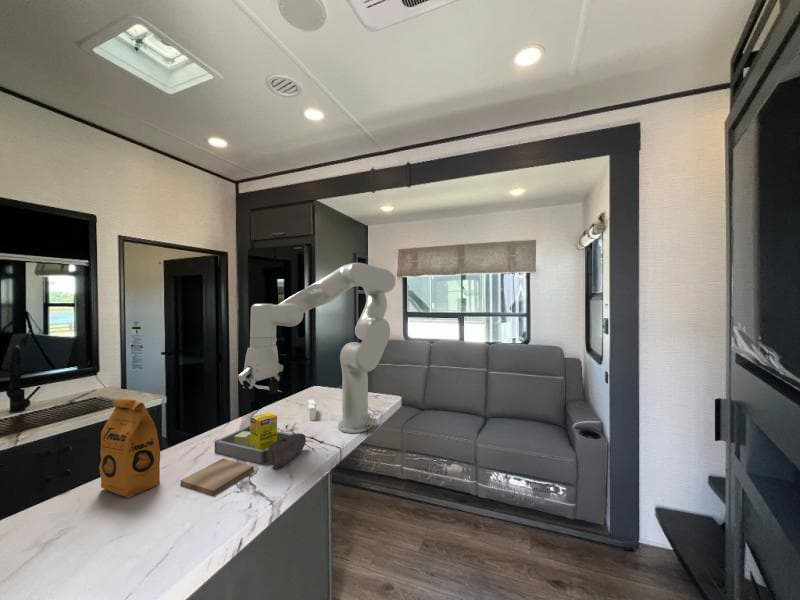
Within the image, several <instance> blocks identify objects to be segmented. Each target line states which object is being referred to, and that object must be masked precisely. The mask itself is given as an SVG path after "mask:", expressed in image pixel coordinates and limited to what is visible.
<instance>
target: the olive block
mask: <svg viewBox="0 0 800 600" xmlns="http://www.w3.org/2000/svg"><path fill="white" fill-rule="evenodd" d="M234 444H238V445H243V446H247V447H249V446H250V432H246V431H242V432H241V433H239V434H237V435H235V436H234Z"/></svg>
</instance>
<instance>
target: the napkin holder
mask: <svg viewBox="0 0 800 600" xmlns="http://www.w3.org/2000/svg"><path fill="white" fill-rule="evenodd" d="M307 418H308V421H309V420H311V421H316V419H317V403H316V402H315V400H314V398H313V399H307Z"/></svg>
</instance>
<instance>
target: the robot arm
mask: <svg viewBox="0 0 800 600" xmlns="http://www.w3.org/2000/svg"><path fill="white" fill-rule="evenodd" d="M395 286H396V278H395V275H394V274H393V272H391V271H390V270H388V269H386V268H382V267H377V266H375V265H370V264H367V263H363V262H351V263H348V264H344V265H342V266H340V267H339V268H337V269H335V270H334V271H331V272H330V273H329V274H328V275H326V276H324V277H323V278H321V279H319V280H318V281H316V282H313V283H311V285H310V284H309V285H308V286H307V287H305V288H304V289H302V290H300V291H298V292H296V293H295V294H292V295H291V296H289V297H288V298H286V299H285V300H283V301H282V302H280V303H278V304H274V303H253V304H252V305H251V307H250V326H249V327H250V329H249V330H250V331H249V332H250V333H249V347H247V351H246V354H245V359H244V367H243V371H242V372H240V373H239V374H238V375H237V378H238V382H239V384H240V386H242V389H244V402H249V403H253V402H254V401H255V388H254V385H256V382H259V381H263V380H266V379H270V380H269V382H268V383H269V385H268V391H269V392H268V393H269V394H278V393H279V381H280V379H281V376H282V374H283V373H282V372H283V371H284V365H283V364H280V363H279V353H278V346H277V341H278V338H277V326H279V327H281V326H283V327H295V326H297V325H299V324H300V323H302V321H303V318H304V313H306V312H308V311H310V310H312V309H314V308H317V307H321V306H324V305H327V304H328V303H331V302H332V301H334V300H335V299H337V298H338V297H339V296H341V295H343V294H344V293H345V292H347V291H349V290H350V289H352V288H353V287H362V289H363V291H364V294H365V297H366V298H365V299H366V300H365V305H364V306H363V307H364V308H363V310H362V312H361V314H360V317H359V318H358V320H357V323H356V325H355V327H354V328H355V329H354V334H355V336H356V338H358V339H359V340H361V342H358V341H352V342H348V343H345V345H343V347H342V348H341V350H340V355H339V361H340V368H341V373H342V374H341V375H342V378H341V379H342V383H341V384H342V385H341V386H342V388H341V389H342V420H341V421H339V422H338V425H337V427H338V429H339V430H340V432H343V433H346V434H347V433H348V434H351V433H352V434H358V433H364V432H366V431H368V430H370V429H371V428H373V427H376V426H378V421H377V420H378V419H377V418H373V417H371V413H369V396H368V395H369V377H368V376H369V375H368V373H369V372H371V371H373V370H374V369H376V367H377V366H378V364H380V363H379V362H380V360H381V359H382V356H383V354H384V351H385V349H386V347H387V345H388V342H389V339H390V337H391V327H390V324H389V322H388V321H387V320H386V319H385V318H384V317H385V316H386V315H385V314H386V311H387V309H388V301H387V297H386V293H390V292H392V290H393V289H394V288H395Z"/></svg>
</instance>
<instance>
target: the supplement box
mask: <svg viewBox="0 0 800 600" xmlns="http://www.w3.org/2000/svg"><path fill="white" fill-rule="evenodd" d="M249 423H250V424H249V426H250V447H252V448H256V449H260V450H265V449H266V448H268V447H269V445H271V444H272V443H274V442H276V441H277V431H278V415H276V414H274V413H271V412H269V411H266V412H264V413H261V414H257V415H254V416H253V415H252V416H250V422H249Z"/></svg>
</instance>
